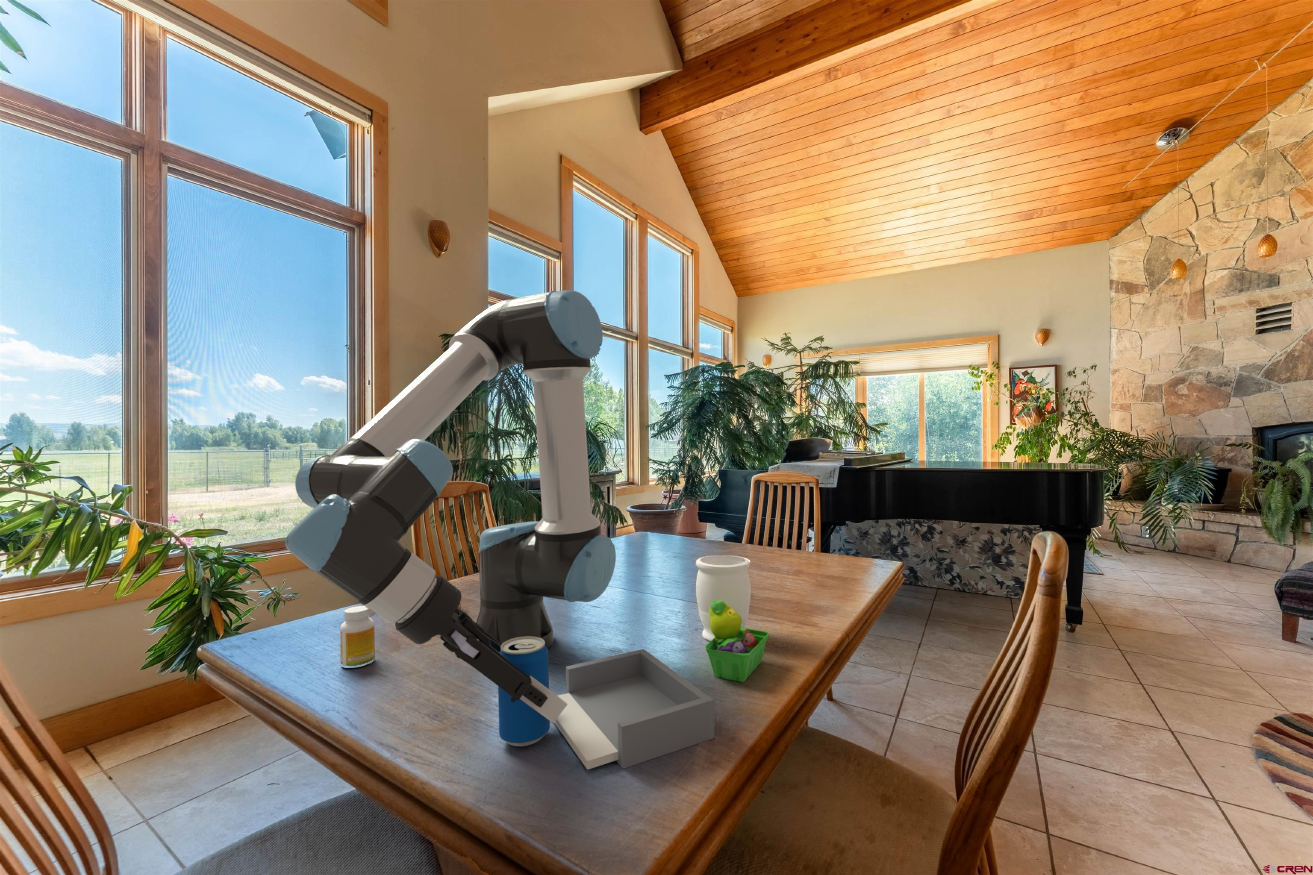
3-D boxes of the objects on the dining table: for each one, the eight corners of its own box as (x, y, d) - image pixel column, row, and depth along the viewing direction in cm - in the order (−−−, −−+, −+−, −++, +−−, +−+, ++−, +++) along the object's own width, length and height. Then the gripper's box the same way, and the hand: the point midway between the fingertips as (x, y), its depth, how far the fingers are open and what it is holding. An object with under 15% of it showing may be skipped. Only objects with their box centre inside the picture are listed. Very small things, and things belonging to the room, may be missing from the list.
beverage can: (504, 723, 75) (502, 636, 75) (552, 720, 76) (550, 633, 76) (494, 751, 69) (492, 655, 69) (547, 747, 69) (545, 652, 69)
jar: (749, 627, 113) (748, 554, 113) (753, 647, 103) (752, 566, 102) (697, 626, 114) (696, 554, 114) (696, 645, 104) (694, 566, 104)
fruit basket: (748, 687, 86) (747, 615, 86) (697, 676, 91) (695, 607, 91) (771, 661, 96) (769, 596, 96) (723, 652, 101) (722, 590, 101)
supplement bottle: (382, 660, 100) (380, 606, 99) (354, 671, 95) (353, 615, 95) (361, 655, 102) (360, 602, 102) (333, 666, 97) (332, 611, 97)
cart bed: (540, 706, 81) (539, 672, 81) (644, 679, 90) (643, 648, 90) (591, 779, 64) (590, 736, 64) (714, 737, 72) (713, 699, 72)
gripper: (387, 603, 73) (513, 695, 81) (397, 654, 56) (555, 764, 64) (429, 558, 76) (547, 652, 84) (451, 593, 59) (596, 707, 67)
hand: (550, 700), depth 74 cm, fingers closed on beverage can, 6 cm apart
